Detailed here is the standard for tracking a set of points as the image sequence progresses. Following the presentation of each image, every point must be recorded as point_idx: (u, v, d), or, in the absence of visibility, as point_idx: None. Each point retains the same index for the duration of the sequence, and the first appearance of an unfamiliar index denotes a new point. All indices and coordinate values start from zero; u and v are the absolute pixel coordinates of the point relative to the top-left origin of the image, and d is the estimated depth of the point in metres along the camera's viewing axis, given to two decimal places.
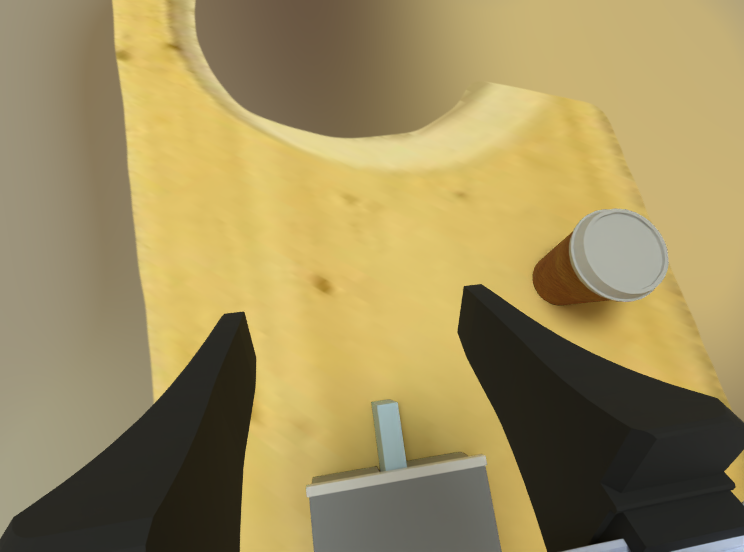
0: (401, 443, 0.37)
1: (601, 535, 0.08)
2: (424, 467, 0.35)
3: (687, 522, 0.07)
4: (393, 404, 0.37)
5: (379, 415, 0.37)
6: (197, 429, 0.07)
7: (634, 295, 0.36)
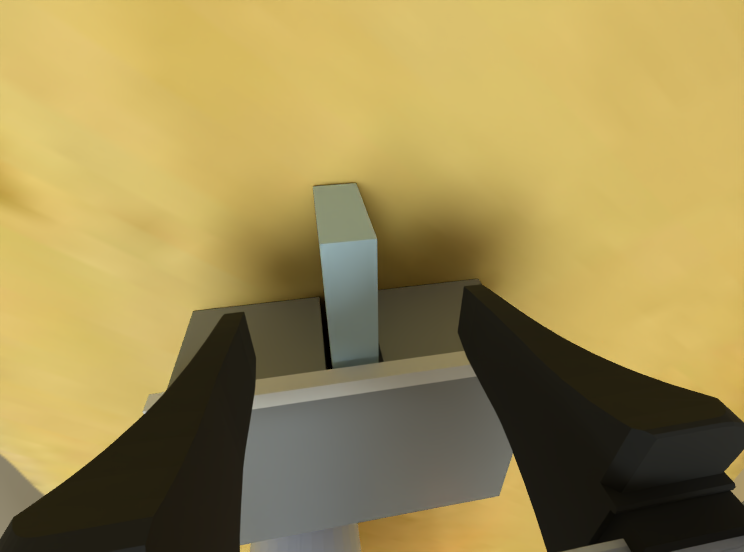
0: (373, 320, 0.16)
1: (601, 535, 0.08)
2: (416, 373, 0.16)
3: (687, 522, 0.07)
4: (365, 243, 0.14)
5: (324, 267, 0.14)
6: (197, 429, 0.07)
7: None
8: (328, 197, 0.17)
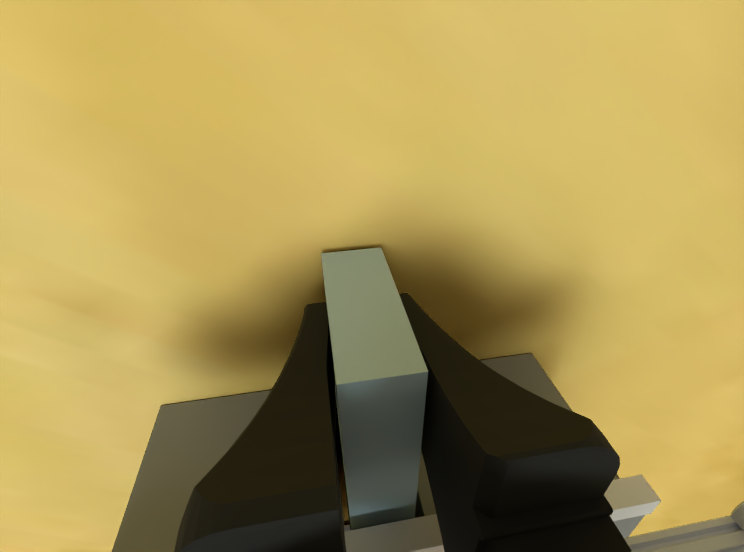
0: (412, 466, 0.11)
1: None
2: None
3: (556, 550, 0.07)
4: (409, 378, 0.09)
5: (343, 412, 0.09)
6: (329, 409, 0.08)
7: None
8: (344, 275, 0.12)
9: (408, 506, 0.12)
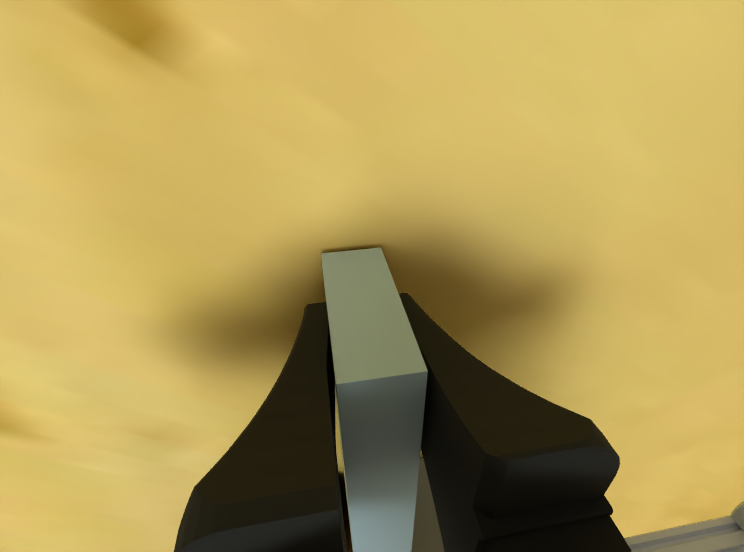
0: (412, 466, 0.11)
1: None
2: None
3: (556, 549, 0.07)
4: (408, 378, 0.09)
5: (343, 411, 0.09)
6: (329, 409, 0.08)
7: None
8: (344, 275, 0.12)
9: (408, 506, 0.12)
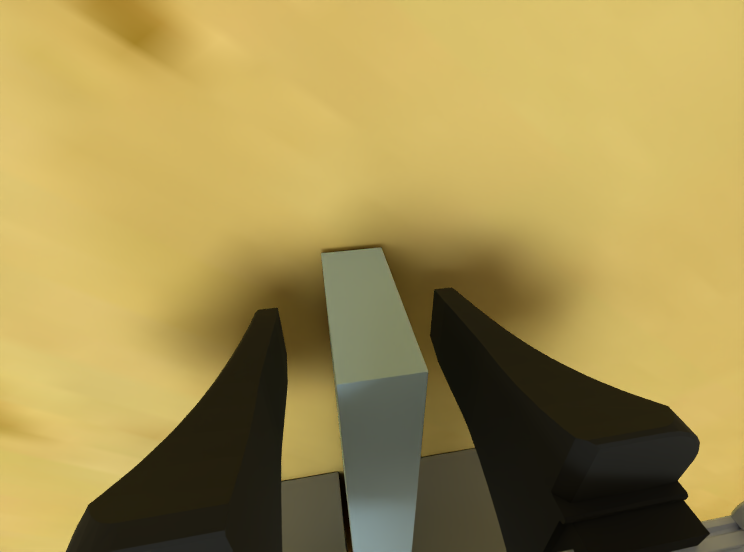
0: (412, 466, 0.11)
1: (554, 545, 0.08)
2: None
3: (636, 532, 0.07)
4: (409, 378, 0.09)
5: (343, 412, 0.09)
6: (251, 421, 0.08)
7: None
8: (344, 275, 0.12)
9: (408, 506, 0.12)
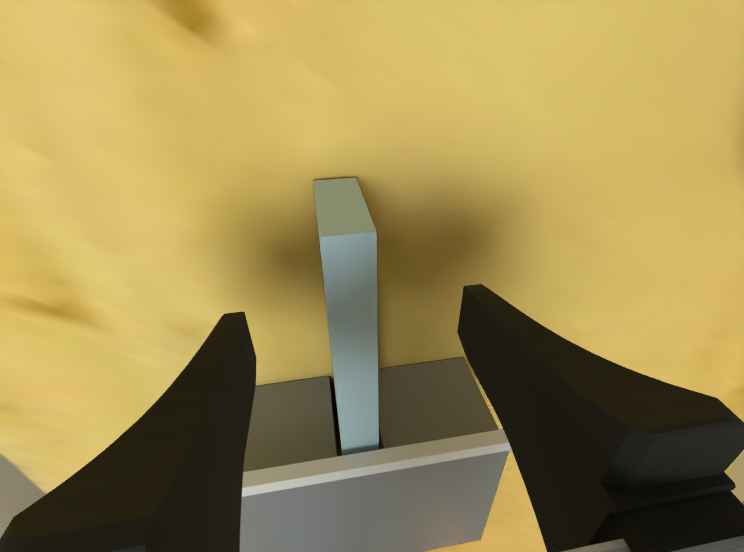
0: (372, 313, 0.16)
1: (601, 535, 0.08)
2: (409, 460, 0.20)
3: (687, 522, 0.07)
4: (364, 236, 0.14)
5: (324, 259, 0.14)
6: (197, 429, 0.07)
7: None
8: (328, 191, 0.17)
9: (372, 351, 0.17)
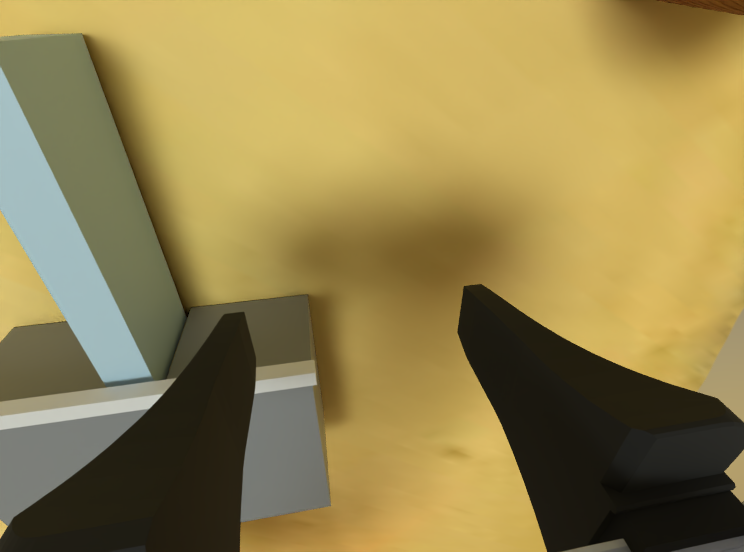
0: (49, 179, 0.12)
1: (601, 535, 0.08)
2: None
3: (687, 522, 0.07)
4: None
5: None
6: (197, 429, 0.07)
7: None
8: (18, 36, 0.13)
9: (77, 239, 0.13)
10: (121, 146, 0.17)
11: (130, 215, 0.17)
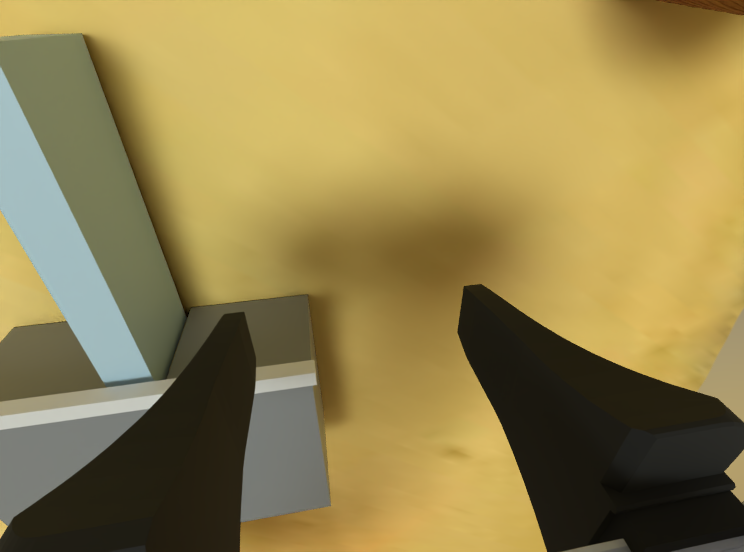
0: (49, 179, 0.12)
1: (601, 535, 0.08)
2: None
3: (687, 522, 0.07)
4: None
5: None
6: (197, 429, 0.07)
7: None
8: (18, 36, 0.13)
9: (77, 239, 0.13)
10: (121, 146, 0.17)
11: (130, 215, 0.17)
